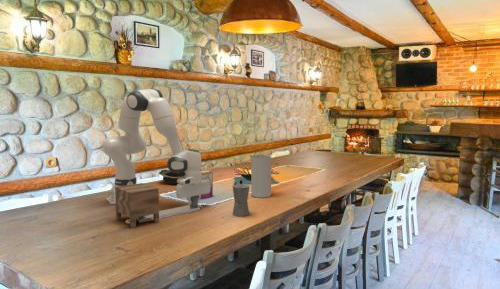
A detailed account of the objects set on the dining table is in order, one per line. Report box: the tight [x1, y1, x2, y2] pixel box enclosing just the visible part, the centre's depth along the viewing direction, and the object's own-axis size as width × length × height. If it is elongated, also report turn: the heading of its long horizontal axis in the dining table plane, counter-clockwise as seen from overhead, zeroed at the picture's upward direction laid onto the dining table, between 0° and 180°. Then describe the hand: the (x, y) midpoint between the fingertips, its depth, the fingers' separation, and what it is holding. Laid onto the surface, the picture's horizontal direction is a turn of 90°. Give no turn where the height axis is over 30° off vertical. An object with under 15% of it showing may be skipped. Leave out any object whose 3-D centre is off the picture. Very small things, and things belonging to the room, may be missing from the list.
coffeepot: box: [232, 179, 250, 217], centre depth 199 cm, size 15×9×18 cm, turn 25°
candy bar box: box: [196, 169, 214, 200], centre depth 234 cm, size 11×5×16 cm, turn 134°
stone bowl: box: [158, 169, 185, 185], centre depth 281 cm, size 25×25×9 cm
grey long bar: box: [136, 196, 201, 224], centre depth 198 cm, size 36×8×7 cm, turn 132°
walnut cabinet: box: [115, 182, 160, 229], centre depth 186 cm, size 18×15×16 cm
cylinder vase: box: [250, 154, 272, 199], centre depth 238 cm, size 12×12×25 cm
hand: (193, 203), depth 209 cm, fingers closed on grey long bar, 3 cm apart
